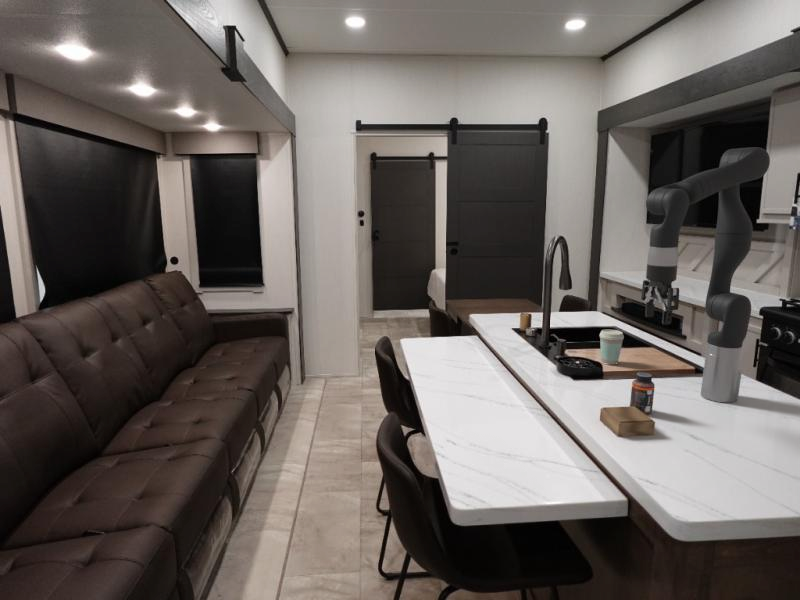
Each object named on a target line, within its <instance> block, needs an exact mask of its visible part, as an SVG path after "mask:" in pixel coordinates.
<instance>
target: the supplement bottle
mask: <svg viewBox="0 0 800 600" xmlns="http://www.w3.org/2000/svg"><path fill="white" fill-rule="evenodd" d="M652 377H653V375H652V374H651V373H647V372H637V373H636V378H635V379H633V381H632V383H631V390H630V401H629V402H630V404H629V407H630V406H634V407H636V408H637V409H639V410H640V411H641V412H643V413H644V414H645V415H647V416H648V415H650V414H651V413H652V411H653V404H654V396H655V395H654V394H655V385H656V384H655V383H654V382H653V378H652Z"/></svg>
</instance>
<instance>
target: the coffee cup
mask: <svg viewBox="0 0 800 600" xmlns="http://www.w3.org/2000/svg"><path fill="white" fill-rule="evenodd" d="M624 338H625V336H624V333H623V332H622V330H617V329H602V330H601V331H600V333H599V339H600V341H599V342H600V343H599V344H600V363H602V362H603V363H607V364H616V363H618V364H619V359H620V355H621V350H622V346H623V341H624ZM603 363H602V364H603Z"/></svg>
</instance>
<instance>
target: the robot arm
mask: <svg viewBox="0 0 800 600" xmlns="http://www.w3.org/2000/svg"><path fill="white" fill-rule="evenodd" d="M770 163H771V157H770V154H769V153H768V151H767V150H766V149H765V148H764V147H763V148H762V147H756V146H755V147H739V148H738V147H737V148H730V149H727V150H725V152H724V153H723V154H722V155H721V157H720V161H719V167H716V168H712V169H711V168H710V169H708V170H704V171H701V172H698V173H696V174H694V175H691V176H689V177H687V178H685V179H683V180H681V181H678V182H675V183H671V184H667V185H662V186H660V187H658V188H656V189H654V190H652V191H651V192H650V193H649V194H648V196H647V198H646V200H645V207H646V210H647V211H648V212H649V213H650V214H651V215H656V216H665V217H664V219H663V222H662V223H658V224H655V225H653V226H652V227H650V228H651V229H650V234H649V247H648V252H647V259H646V263H647V264H646V271H645V272H646V273H645V279H644V280H643V281H642V287H641V288H642V289H641V299H640V300H641V301H644V304H645V309H644V310H645V314H644V316H645V317H646V318H653V317H654V315H655V303H656V301H658V304H660V305H661V308H662V317H661V323H662V325H665V326H667V325H671V324H672V320H673V319H672V318H673V312H674V311H678V310H679V304H680V288H679V287H673V286H672V283H673V282H675V281H676V280H677V276H678V265H679V264H678V263H679V240H680V232H681V229H682V227H683V223H684V221H685V218H686V215H687V213H688V210H689V207H690V205H693V204H695V203H698V202H700V201H702V200H704V199H706V198H707V197H710V196H712V195H714V194H716V193H718V205H717V206H718V207H717V209H718V210H717V221H716V228H715V234H714V236H715V237H714V249H713V258H712V260H713V261H712V268H711V275H710V278H709V279H710V280H709V285H708V289H707V294H706V298H705V305H704V306H705V312H706V315H707V317H709V318H710V319H711V320H715V321H718V322H722V328H721V330H718V331H712V332H709V333H708V335H707V338H706V339H707V340H706V348H705V356H704V357H705V358H704V364H703V372H702V382H701V387H700V396H701V397H703V398H704V399H707V400H710V401H713V402H718V403H732V402H734V401H738V400H739V393H740V387H741V381H742V380H741V379H742V370H741V369H740V365H741V359H742V358H741V357H742V349H743V343H744V341H745V339H746V336H747V335H748V329H749V325H750V324H749V323H750V320H751V315H752V303H751V300H750V298H749V297H747V296H746V295H743V294H740V293H735V292H731V285H732V281H733V280H732V279H733V276H734V274H735V272H736V270H737V269H738V267H739V266H741V264H742V263H743V261H744V260H745V259H746V257H747V256H748V255H749V253H750V251H751V247H752V241H753V240H752V239H753V231H754V229H753V228H754V227H753V223H752V220H751V219H750V216H749V214H748V212H747V211H746V209H745V206H744V205H743V203H742V200H741V197H740V184H744V183H747V182H752V181H755V180H758V179H760V178H762V177H763V176H765V174H767V172H768V170H769V168H770Z"/></svg>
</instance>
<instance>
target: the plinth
mask: <svg viewBox="0 0 800 600" xmlns="http://www.w3.org/2000/svg"><path fill="white" fill-rule="evenodd" d="M599 412H600V414H599V417H600V418H599V421H600V422H601V423H602V424H603V425H604V426H605V427H607V429H609V430H610V432H612V434H614V435H615V436H616V437H634V436H635V437H637V436H639V437H640V436H654V435H655V428H656V421H655V420H653V419H652V418H651V417H649V416H648V414H647V415H645V414H644V413H643V412H641V411H640V410H639V409H637V408H636V407H634V406H630V405H629V406H609V407H608V406H607V407H602V408H600V411H599Z"/></svg>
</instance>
